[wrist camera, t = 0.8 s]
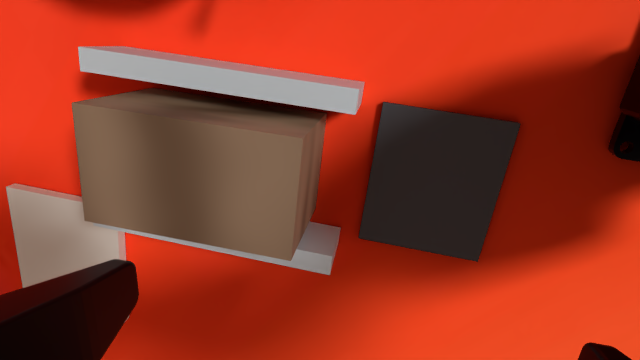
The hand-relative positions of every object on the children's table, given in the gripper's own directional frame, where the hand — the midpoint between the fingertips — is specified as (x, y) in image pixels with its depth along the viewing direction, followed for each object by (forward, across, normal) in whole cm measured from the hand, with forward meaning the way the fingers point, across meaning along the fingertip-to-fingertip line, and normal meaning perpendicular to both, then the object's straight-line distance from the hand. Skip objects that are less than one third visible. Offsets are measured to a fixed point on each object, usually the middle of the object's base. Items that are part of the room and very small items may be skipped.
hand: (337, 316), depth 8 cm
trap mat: (+12, -3, +1) cm, 12 cm away
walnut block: (+12, +7, 0) cm, 14 cm away
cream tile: (+12, +18, +8) cm, 23 cm away
